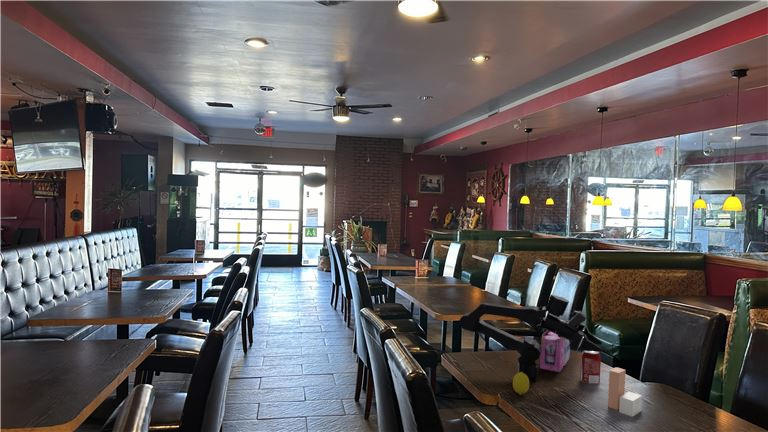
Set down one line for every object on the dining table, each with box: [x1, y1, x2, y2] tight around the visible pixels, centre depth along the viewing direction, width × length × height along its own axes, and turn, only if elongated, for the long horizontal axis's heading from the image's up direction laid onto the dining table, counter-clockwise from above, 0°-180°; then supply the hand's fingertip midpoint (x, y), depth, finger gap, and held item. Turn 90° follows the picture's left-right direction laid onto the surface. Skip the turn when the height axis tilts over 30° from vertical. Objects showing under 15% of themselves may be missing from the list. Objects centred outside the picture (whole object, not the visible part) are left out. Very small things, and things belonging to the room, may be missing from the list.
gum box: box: [539, 330, 571, 373], centre depth 197 cm, size 24×8×14 cm, turn 149°
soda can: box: [579, 351, 602, 385], centre depth 176 cm, size 7×7×12 cm
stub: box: [607, 366, 626, 411], centre depth 154 cm, size 3×5×12 cm, turn 131°
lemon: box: [512, 372, 530, 396], centre depth 163 cm, size 6×6×8 cm
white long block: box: [617, 391, 643, 417], centre depth 156 cm, size 18×7×6 cm, turn 41°
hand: (601, 346), depth 168 cm, fingers open, 9 cm apart
